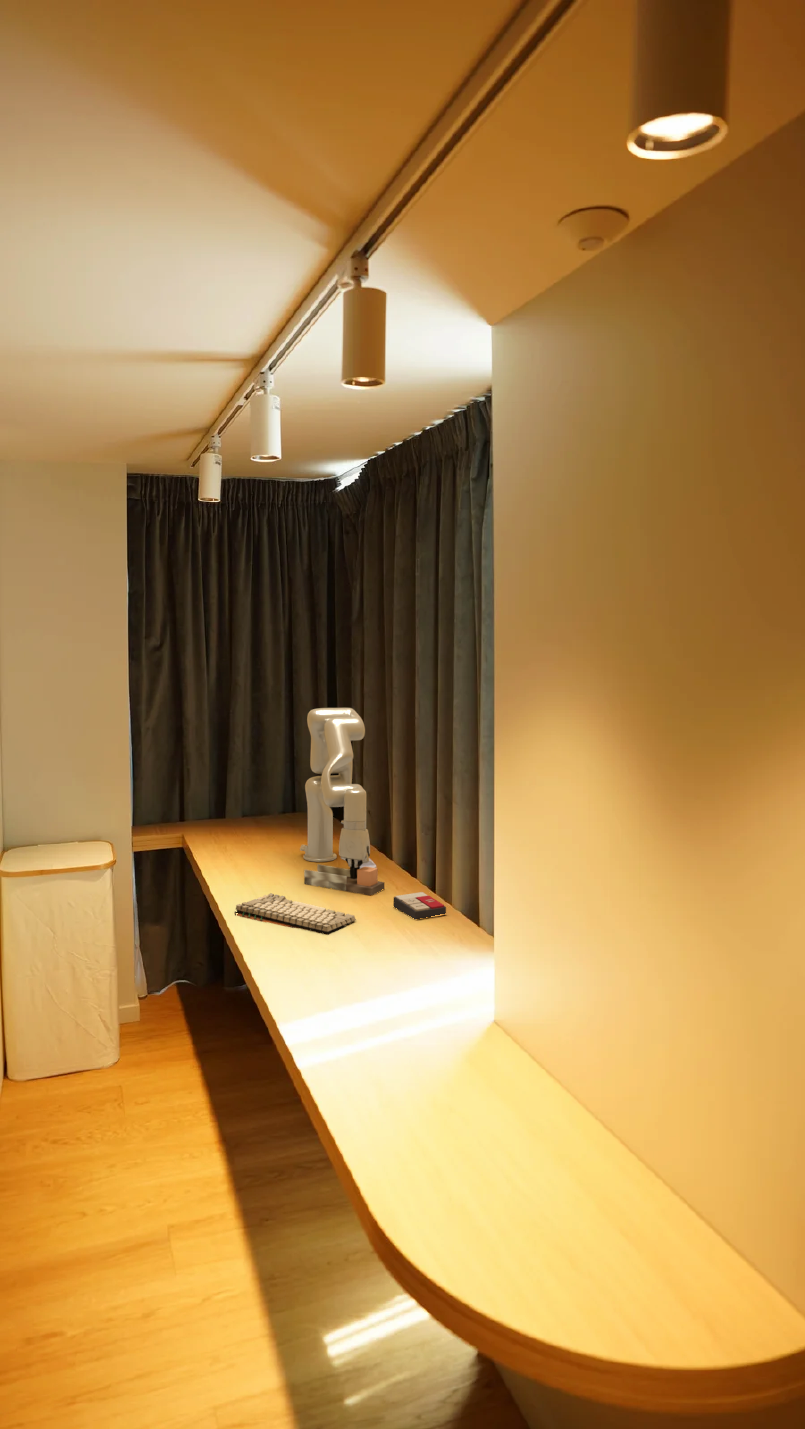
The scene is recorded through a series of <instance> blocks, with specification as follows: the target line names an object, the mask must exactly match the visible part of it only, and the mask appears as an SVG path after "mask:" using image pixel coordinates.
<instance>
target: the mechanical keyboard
mask: <svg viewBox="0 0 805 1429" xmlns="http://www.w3.org/2000/svg"><path fill="white" fill-rule="evenodd" d="M236 911H237V912H236ZM235 912H236V913H238V914H237V917H240V918H245V919H248V920H253V921H258V922H263V923H266V924H267V923H268V924H272V925H277V926H282V927H286V928H290V929H291V928H292V929H301V930H305V931H310V932H314V933H317V934H323V935H327V936H328V935H329V936H330V934H333V933H336V932H338V931H341V930H343V929H344V928H347V926H348V925H351V924H352V923H353V922H354V921H357V919H356V917H355V915H353V914H350V913H345V912H342V911H336V910H334V909H333V910H332V909H330V908H329V909H327V908H325V907H323V906H322V907H321V906H317V905H313V904H310V903H305V902H300V901H296V900H295V901H293V900H292V899H287V898H286V896H285V895H279V894H274V893H271V892H270V893H268V894H264V895H263V896H262V897H261V896H260V897H257V898H255V899H251V900H249V901H247V902H245V901H244V902H242V903H241V904H240V903H239V904H236V905H235ZM236 913H235V914H236Z"/></svg>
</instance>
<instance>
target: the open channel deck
mask: <svg viewBox="0 0 805 1429" xmlns="http://www.w3.org/2000/svg"><path fill="white" fill-rule="evenodd" d="M316 870H317V871H316ZM316 870H310V869H304V870H303V876H304V878H303V883H304V884H303V885H308V886H313V887H318V886H320V888H324V887H326V889H330V888H332V889H331V890H336V891H343V892H349V893H354V894H360V895H365V896H370V895H372V896H374V895H376V894H378V893H380V892H382V891H383V890H382V889H384V890H385V882H384V881H380V880H378V883H376V884H374V885H372V886H365V885H359V884H357V878H356V879H351V878H350V868H349V869H348V868H344V867H336V866H331V865H324V864H317V869H316ZM381 890H382V891H381ZM379 891H380V892H379ZM377 892H378V893H377Z"/></svg>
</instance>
